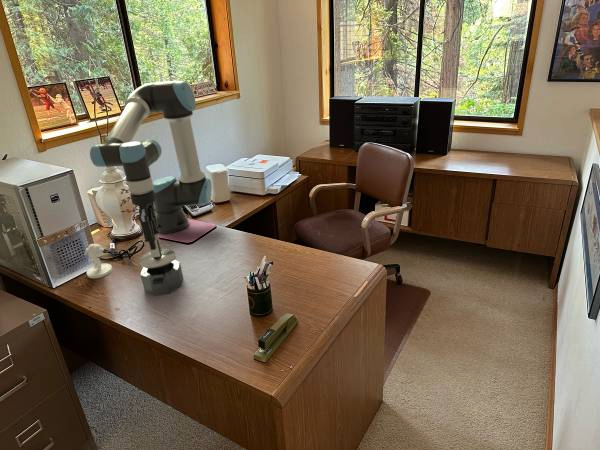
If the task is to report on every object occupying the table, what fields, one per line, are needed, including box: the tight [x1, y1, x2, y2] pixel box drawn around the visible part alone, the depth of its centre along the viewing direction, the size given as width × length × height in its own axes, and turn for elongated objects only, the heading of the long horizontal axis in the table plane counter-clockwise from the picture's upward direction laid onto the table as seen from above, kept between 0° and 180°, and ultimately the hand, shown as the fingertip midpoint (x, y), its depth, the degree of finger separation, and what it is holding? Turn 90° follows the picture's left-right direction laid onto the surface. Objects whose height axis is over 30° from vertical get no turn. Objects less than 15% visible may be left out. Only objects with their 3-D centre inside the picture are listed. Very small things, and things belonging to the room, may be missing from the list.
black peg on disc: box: [139, 240, 177, 268], centre depth 149 cm, size 12×12×7 cm
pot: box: [140, 259, 184, 297], centre depth 153 cm, size 16×13×7 cm
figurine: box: [84, 243, 113, 279], centre depth 164 cm, size 9×9×12 cm
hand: (156, 253), depth 149 cm, fingers closed on black peg on disc, 3 cm apart
